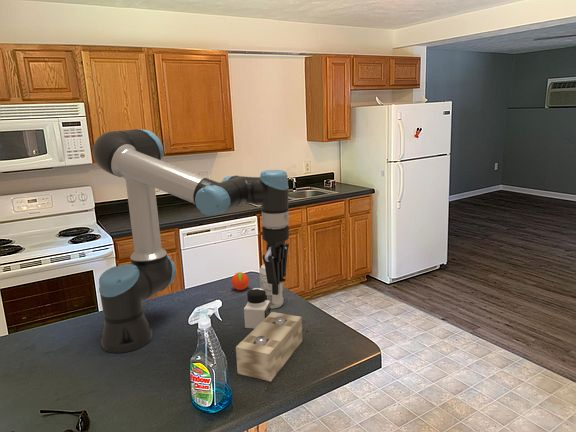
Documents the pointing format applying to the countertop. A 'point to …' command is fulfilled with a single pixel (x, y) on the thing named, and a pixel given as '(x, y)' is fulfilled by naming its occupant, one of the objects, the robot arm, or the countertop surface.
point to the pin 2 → (280, 320)
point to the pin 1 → (261, 340)
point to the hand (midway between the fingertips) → (277, 302)
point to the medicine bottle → (256, 308)
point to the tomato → (240, 281)
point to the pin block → (269, 347)
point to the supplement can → (267, 287)
